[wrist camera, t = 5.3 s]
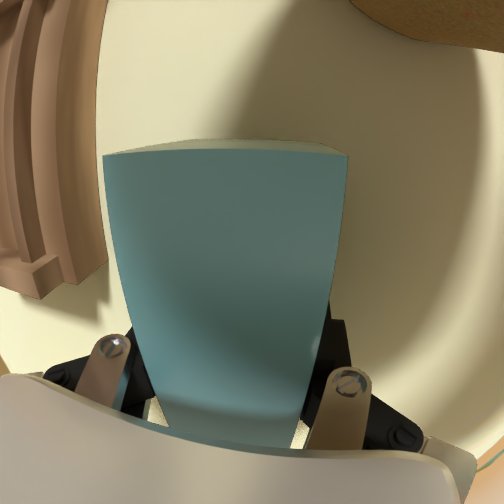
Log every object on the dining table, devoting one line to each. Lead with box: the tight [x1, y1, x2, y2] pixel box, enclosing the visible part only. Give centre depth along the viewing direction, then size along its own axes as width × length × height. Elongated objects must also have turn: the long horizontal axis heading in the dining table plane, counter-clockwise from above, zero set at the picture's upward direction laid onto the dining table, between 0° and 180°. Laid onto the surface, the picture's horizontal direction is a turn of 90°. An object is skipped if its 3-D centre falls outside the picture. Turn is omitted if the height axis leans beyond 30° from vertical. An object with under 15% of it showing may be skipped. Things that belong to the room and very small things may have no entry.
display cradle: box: [0, 0, 108, 300], centre depth 9 cm, size 12×18×5 cm, turn 179°
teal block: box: [102, 139, 348, 448], centre depth 9 cm, size 4×13×5 cm, turn 179°
